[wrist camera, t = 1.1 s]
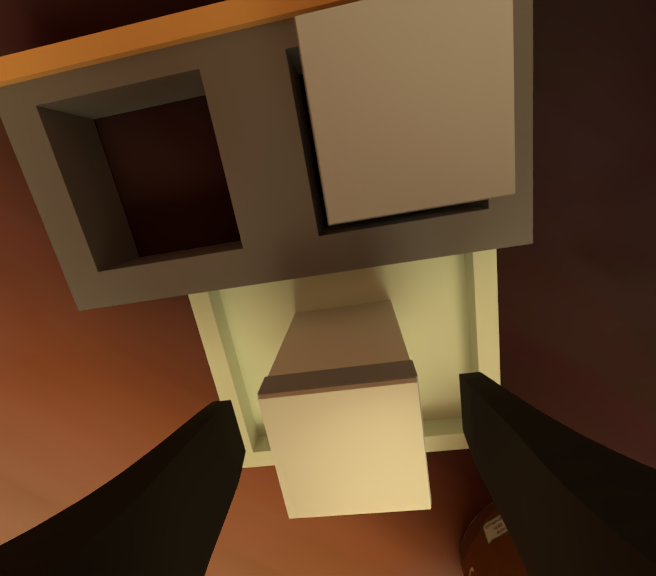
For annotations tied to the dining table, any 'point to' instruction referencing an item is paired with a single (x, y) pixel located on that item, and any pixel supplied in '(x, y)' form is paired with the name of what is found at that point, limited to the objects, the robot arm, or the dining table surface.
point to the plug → (346, 415)
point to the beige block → (410, 103)
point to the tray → (351, 289)
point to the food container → (489, 547)
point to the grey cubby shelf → (223, 155)
